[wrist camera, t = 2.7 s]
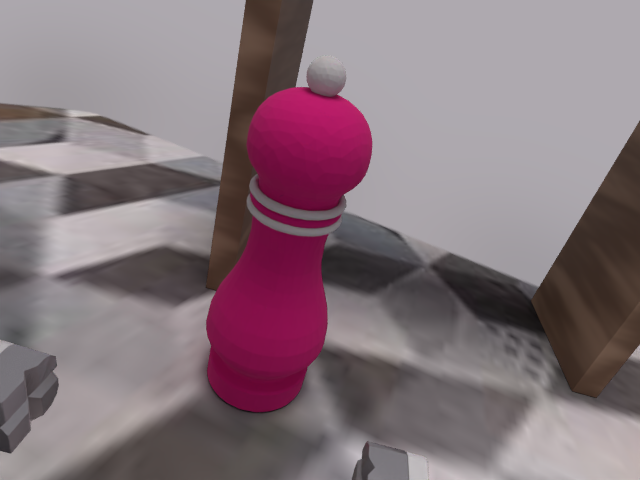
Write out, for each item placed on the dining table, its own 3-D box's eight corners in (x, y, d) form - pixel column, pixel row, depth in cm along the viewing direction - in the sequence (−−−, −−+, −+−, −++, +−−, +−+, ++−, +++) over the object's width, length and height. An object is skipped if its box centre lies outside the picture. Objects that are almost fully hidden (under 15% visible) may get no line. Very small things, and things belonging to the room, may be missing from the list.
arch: (205, 287, 36) (273, -195, 21) (247, 220, 46) (311, -133, 32) (596, 397, 36) (927, -12, 21) (549, 306, 46) (750, -10, 32)
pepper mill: (247, 319, 34) (306, 35, 24) (328, 371, 31) (431, 78, 21) (174, 375, 28) (211, 30, 18) (267, 443, 25) (369, 88, 16)
